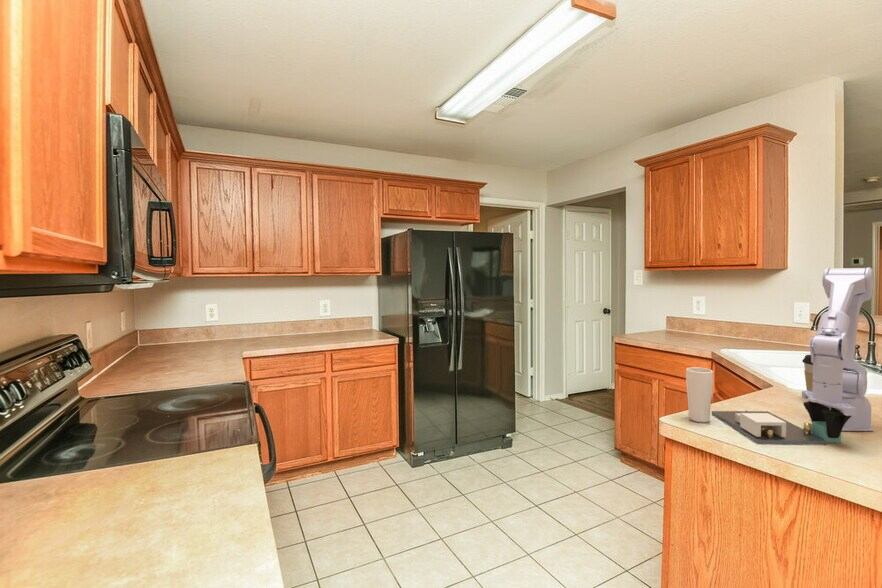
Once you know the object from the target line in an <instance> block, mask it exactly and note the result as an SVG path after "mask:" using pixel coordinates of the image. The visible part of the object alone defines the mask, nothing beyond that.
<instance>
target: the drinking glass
mask: <svg viewBox="0 0 882 588" xmlns="http://www.w3.org/2000/svg"><path fill="white" fill-rule="evenodd" d="M685 371H686V372H685V385H686V395H687V396H686V397H687V408H688V409H687V410H688V419H689V420H691V421H693V422H696V423H702V424H703V423H704V424H705V423H709V422H710V420H711V407H712V397H713V388H714V371H713V370H712V369H709V368H706V367H698V366H697V367H696V366H694V367H687V368H686V369H685Z"/></svg>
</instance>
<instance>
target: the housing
mask: <svg viewBox="0 0 882 588" xmlns="http://www.w3.org/2000/svg"><path fill="white" fill-rule="evenodd" d="M735 420H736V421H737V422H739V423H740V427H742V428H743V429H745V430H746V431H748V432H750V433H751V434H753V435H755V436H756V437H761V425H765V428H767V429H773V432H774V433H775V434H777V435H779V436H781V437H786V422H784V421H782V420H780V419H778V418H776V417H774V416H772V415H771V414H769V413H735Z"/></svg>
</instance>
